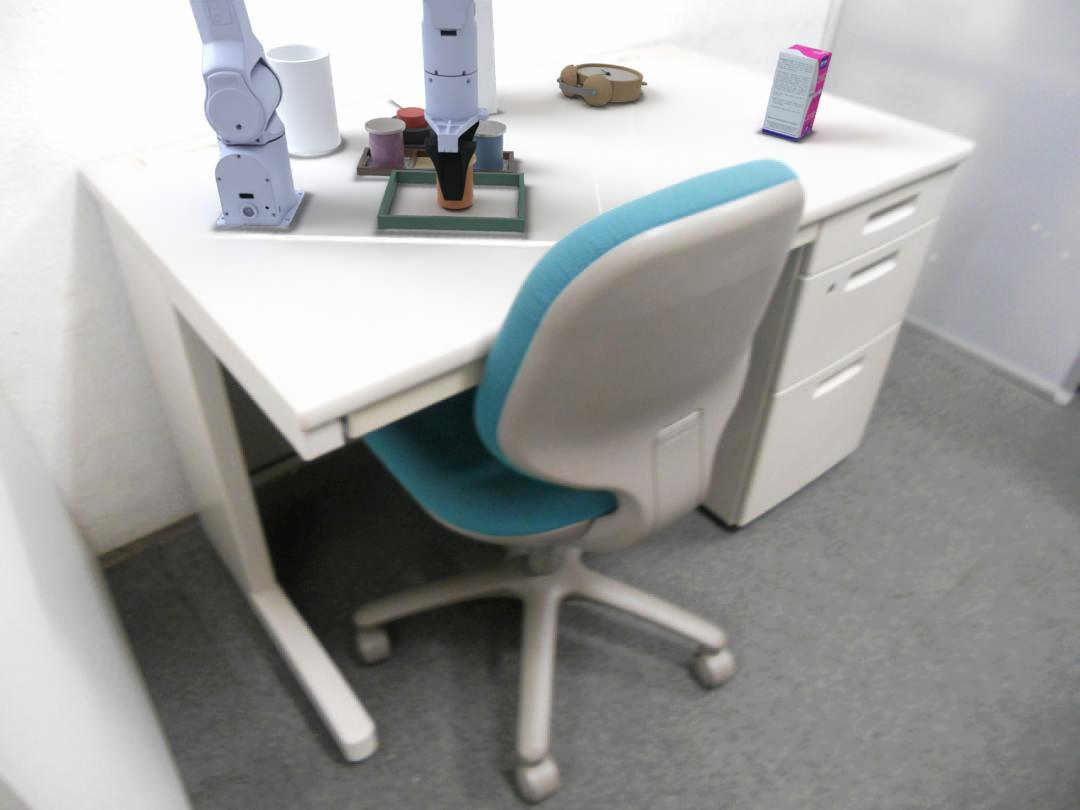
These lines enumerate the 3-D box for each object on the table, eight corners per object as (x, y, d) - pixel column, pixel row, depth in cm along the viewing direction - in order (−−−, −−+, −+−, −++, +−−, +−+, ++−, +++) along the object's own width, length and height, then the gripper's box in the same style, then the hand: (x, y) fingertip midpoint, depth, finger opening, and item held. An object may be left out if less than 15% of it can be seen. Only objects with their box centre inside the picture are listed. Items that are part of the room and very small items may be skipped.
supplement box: (797, 142, 118) (817, 59, 111) (760, 132, 121) (776, 50, 114) (813, 132, 122) (833, 50, 115) (776, 122, 125) (793, 42, 117)
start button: (428, 120, 112) (428, 107, 111) (425, 130, 109) (425, 117, 108) (399, 119, 112) (398, 106, 111) (395, 129, 109) (394, 116, 108)
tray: (523, 236, 92) (524, 220, 91) (378, 233, 92) (377, 216, 90) (523, 188, 102) (524, 172, 101) (393, 184, 102) (392, 169, 101)
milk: (392, 101, 126) (377, -95, 110) (458, 90, 132) (453, -99, 116) (429, 125, 119) (418, -82, 103) (497, 112, 124) (497, -87, 108)
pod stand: (513, 183, 104) (513, 171, 103) (357, 179, 103) (356, 167, 102) (513, 162, 109) (513, 151, 108) (366, 158, 108) (364, 147, 107)
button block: (452, 135, 116) (451, 112, 114) (448, 157, 110) (447, 133, 108) (381, 133, 115) (379, 110, 113) (372, 155, 109) (370, 131, 107)
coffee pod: (475, 210, 95) (475, 165, 91) (432, 209, 94) (430, 164, 91) (477, 192, 98) (477, 148, 95) (436, 191, 98) (433, 147, 95)
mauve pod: (405, 174, 104) (402, 132, 100) (366, 173, 103) (361, 130, 100) (410, 159, 108) (407, 117, 104) (371, 158, 107) (367, 116, 104)
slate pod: (505, 176, 104) (506, 134, 101) (466, 175, 104) (465, 133, 101) (506, 161, 108) (506, 120, 105) (468, 160, 108) (467, 119, 104)
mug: (252, 137, 113) (235, 45, 105) (307, 123, 118) (294, 34, 110) (299, 162, 106) (284, 66, 99) (354, 147, 111) (344, 54, 104)
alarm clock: (658, 77, 131) (595, 76, 121) (651, 109, 133) (589, 111, 123) (607, 60, 137) (543, 59, 127) (601, 91, 140) (538, 92, 130)
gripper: (485, 91, 82) (487, 218, 90) (490, 50, 93) (491, 166, 101) (414, 89, 81) (422, 216, 90) (428, 48, 93) (433, 165, 101)
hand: (454, 190), depth 96 cm, fingers closed on coffee pod, 5 cm apart
